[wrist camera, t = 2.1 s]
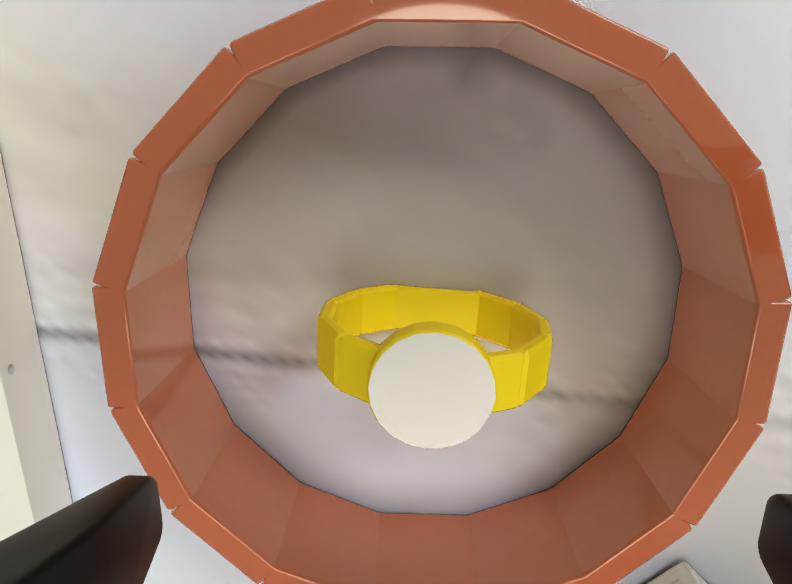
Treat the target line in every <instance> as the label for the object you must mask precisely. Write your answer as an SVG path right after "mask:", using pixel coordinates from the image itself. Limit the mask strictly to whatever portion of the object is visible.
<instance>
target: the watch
mask: <svg viewBox="0 0 792 584" xmlns="http://www.w3.org/2000/svg"><path fill="white" fill-rule="evenodd" d="M390 329H398V330H397V331H395V332H394V333H393V334H392V335H390V336H389V337H388V338H387V339H386V340H384V341H383V342H382V344H381V345H380V344H377V343H374V342H371V341H368V340H365V339H362V338H359V337H356V336H358V335H362V334H368V333H373V332H379V331H384V330H390ZM474 336H477V337H480V338H482V339H485V340H488V341H490V342H493V343H496V344H498V345H501V346H504V347H506V348H510V349H511V350H505V351H498V352H491V353H487V352H486V350H485V349H484V347H483V346H482V345H481V344H480V343H479V342H478V341H477V340H476V338H475V337H474ZM552 340H553V338H552V334H551V329H550V325H549V322H548V321H547V320H546V319H545V318H544V317H543V316H541V315H540V314H538V313H536V312H535V311H533V310H532V309H530V308H528V307H527V306H525V305H524V304H519V303H518V302H517V301H513V300H510V299H507V298H504V297H500V296H497V295H494V294H490V293H487V292H482V290H477V292H473V291H461V290H449V289H437V288H425V287H413V286H401V285H393V284H390V285H382V286H374V287H367V288H359V289H357V290H352V291H349V292H347V293H344V294H342V295H339V296H337V297H334V298H332V299H330V300H329V301H327V302H326V303H325V304H324V306H323V308H322V310H321V312H320V315H319V317H318V332H317V363H318V367H319V368H320V369H321V371H322V372H323V373H324V374H325V376H326V377H327V378H328V379H329V380H330V382H331V383H332V384H333V385H334V386H335V387H336V388H337V389H338V388H339V390H340V391H342V392H344V393H347V394H349V395H351V396H354V397H356V398H358V399H361V400H363V401H366V402H368V403H369V405H370V407H371V409H372V411H373V413H374V415H375V417H376V419H377V421H378V422H379V423H380V424H381V425H382V426H383V427H384V428H385V429H386V430H387V431H388V432H389V433H390V434H391V435H392V436H393V437H395V438H397V439H399V440H401V441H402V442H404V443H406V444H408V445H412V446H416V447H421V448H425V449H435V448H447V447H450V446H453V445H456V444H459V443H462V442H464V441H466V440H467V439H469V438H470V437H471V436H473V435H474V434H475V433H477V432H478V431H479V430H480V429H481V428H482V426H483V425H484V424H485V422H486V421H487V419H488V418H489V417H490V415H491V413H493V412H498V411H503V410H508V409H513V408H516V407H517V406H521V405H523V404H524V403H525V402H527V401H528V400H529V399H530V398H532V397H533V396H534V395H536V394H537V393H538V392H539V391H541V390H542V389H543V388H545V385H546V383H547V375H548V368H549V361H550V354H551V347H552Z"/></svg>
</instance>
